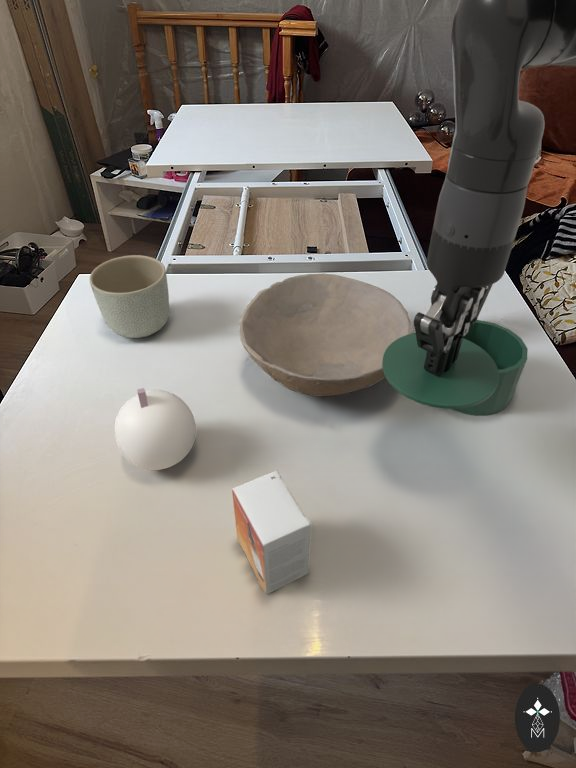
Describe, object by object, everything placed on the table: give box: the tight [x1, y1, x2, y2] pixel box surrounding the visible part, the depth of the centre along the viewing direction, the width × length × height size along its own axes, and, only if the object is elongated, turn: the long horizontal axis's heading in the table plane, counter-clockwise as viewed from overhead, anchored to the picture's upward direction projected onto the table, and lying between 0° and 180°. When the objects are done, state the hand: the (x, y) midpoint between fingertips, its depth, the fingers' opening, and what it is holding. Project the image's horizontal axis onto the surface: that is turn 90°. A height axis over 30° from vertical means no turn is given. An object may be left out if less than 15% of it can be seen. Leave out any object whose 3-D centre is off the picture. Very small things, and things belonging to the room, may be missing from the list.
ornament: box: [114, 387, 197, 471], centre depth 70 cm, size 10×10×12 cm
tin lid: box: [382, 332, 499, 410], centre depth 61 cm, size 13×13×6 cm
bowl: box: [238, 272, 413, 397], centre depth 84 cm, size 26×26×10 cm
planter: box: [89, 254, 170, 339], centre depth 92 cm, size 12×12×11 cm
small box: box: [231, 469, 312, 595], centre depth 59 cm, size 8×6×10 cm
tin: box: [452, 319, 528, 416], centre depth 81 cm, size 12×12×8 cm
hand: (440, 364), depth 62 cm, fingers closed on tin lid, 2 cm apart
